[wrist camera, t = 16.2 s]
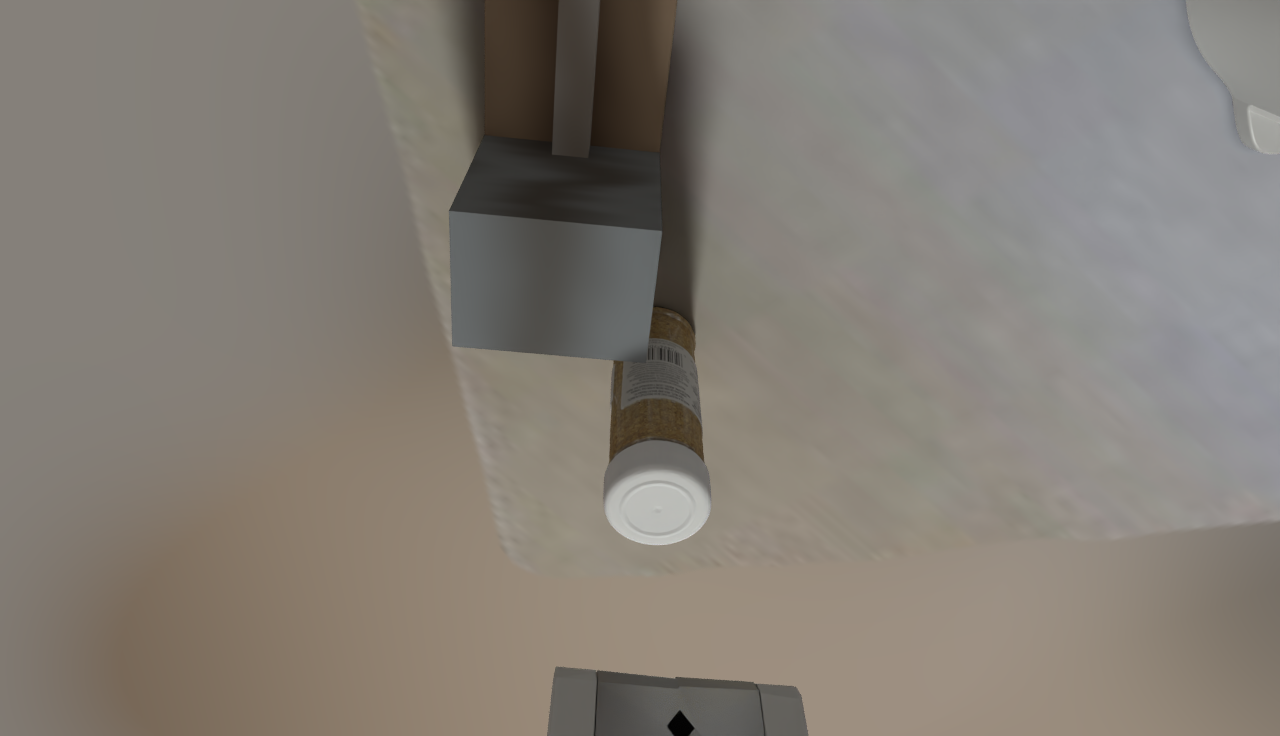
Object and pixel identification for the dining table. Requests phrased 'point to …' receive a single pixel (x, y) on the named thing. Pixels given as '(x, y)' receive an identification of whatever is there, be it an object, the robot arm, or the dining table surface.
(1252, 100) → the robot arm
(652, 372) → the sprinkles bottle
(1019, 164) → the dining table surface
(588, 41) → the rail frame
